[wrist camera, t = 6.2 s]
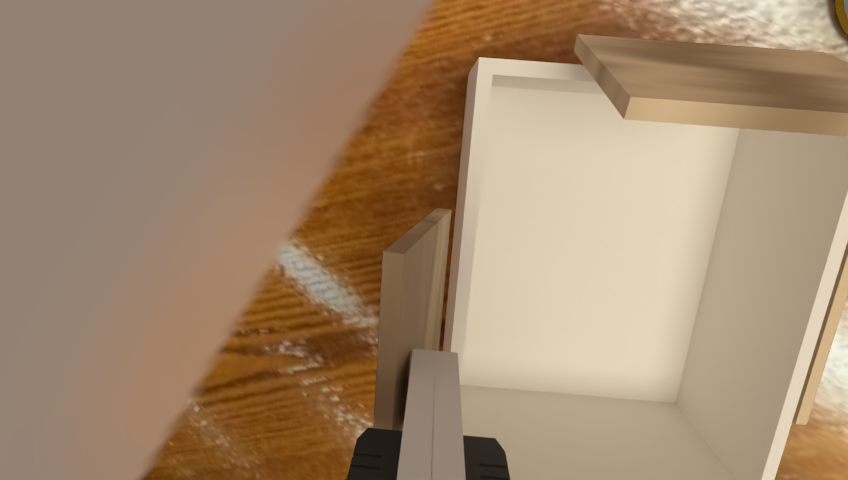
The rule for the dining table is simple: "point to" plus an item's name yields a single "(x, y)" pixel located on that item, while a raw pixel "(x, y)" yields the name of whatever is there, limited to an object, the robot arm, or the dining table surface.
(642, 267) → the carton
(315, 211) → the dining table surface
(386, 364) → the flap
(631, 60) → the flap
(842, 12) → the bottle
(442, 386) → the robot arm
